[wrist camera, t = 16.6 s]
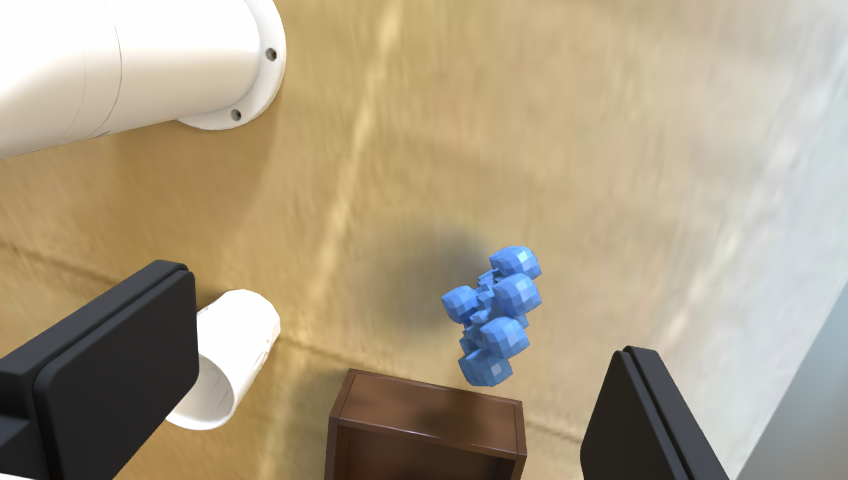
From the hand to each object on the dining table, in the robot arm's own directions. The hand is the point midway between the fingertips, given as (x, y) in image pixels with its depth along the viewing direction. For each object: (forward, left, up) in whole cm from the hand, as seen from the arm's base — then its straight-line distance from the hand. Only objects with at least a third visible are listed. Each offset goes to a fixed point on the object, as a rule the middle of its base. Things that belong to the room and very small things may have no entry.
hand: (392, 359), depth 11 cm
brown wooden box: (+2, -32, -28) cm, 43 cm away
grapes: (+4, -11, -28) cm, 31 cm away
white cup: (-17, -20, -28) cm, 39 cm away
